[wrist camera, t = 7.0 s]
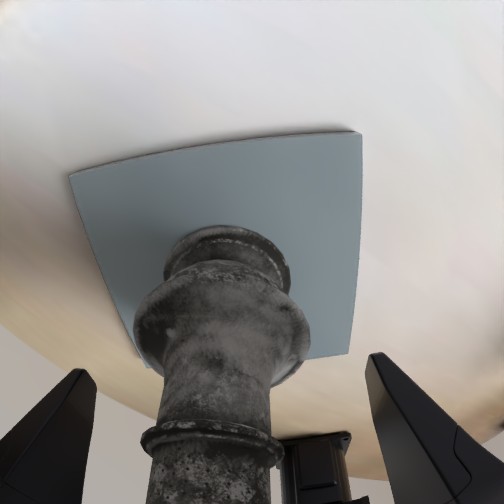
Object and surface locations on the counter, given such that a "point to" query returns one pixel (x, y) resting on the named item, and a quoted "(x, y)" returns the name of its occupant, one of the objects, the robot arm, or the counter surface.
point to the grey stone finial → (218, 366)
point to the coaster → (235, 218)
